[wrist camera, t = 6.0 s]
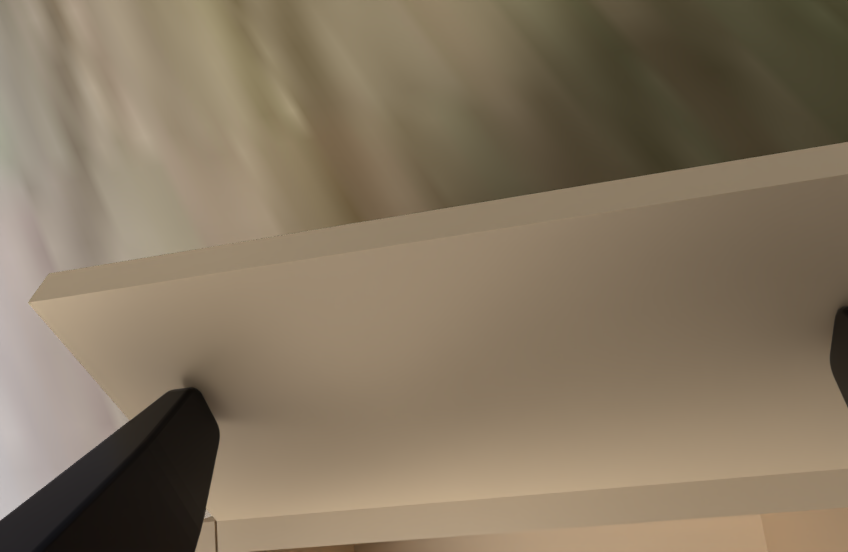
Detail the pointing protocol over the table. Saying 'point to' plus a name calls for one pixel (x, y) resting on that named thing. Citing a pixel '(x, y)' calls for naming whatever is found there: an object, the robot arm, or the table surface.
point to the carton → (574, 521)
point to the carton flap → (497, 341)
